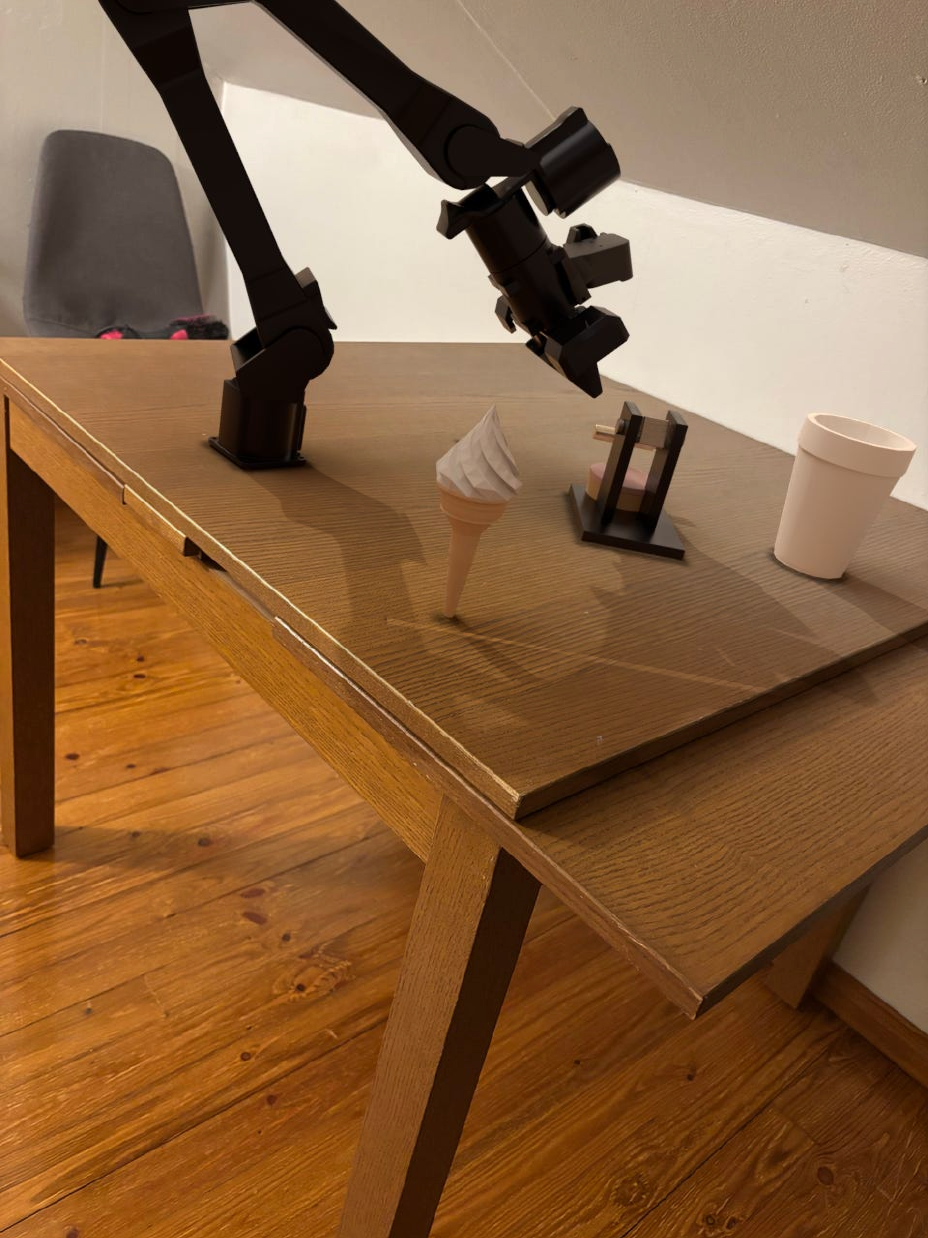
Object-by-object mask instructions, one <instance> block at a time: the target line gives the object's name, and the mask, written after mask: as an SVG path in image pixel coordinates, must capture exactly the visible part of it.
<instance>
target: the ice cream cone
mask: <svg viewBox="0 0 928 1238" xmlns="http://www.w3.org/2000/svg"><path fill="white" fill-rule="evenodd" d="M496 406H497V405H496V403H494V404H493V405H492V406H491V408H490V409H489V410H488V411H487V413H486V414H485V415H484V416H483V417H482V418H481V420H480V421H478V423H477V424H476V425H475V426H474V427H473V428H472V429H471V430H470V431H469V432H468V433H466V434H465V435H464V436H462V438H461V439H460V440H459V441H458V442H457V443H456V444H454V445H453V446H452V447H451V448H450V449H449V450H448V451H447V452H446V453H445V454H443V456H441V458H439V459H438V460H436V461H435V467H436V468H435V469H436V470H435V471H436V478H435V483H436V484H437V486H438V487H439V489H438V492H439V497H440V498H439V499H440V504H439V508H440V510H441V511H442V512H443V513H444V514H445V516H446V518H447V520H448V522H449V524H450V526H451V531H450V532H451V533H450V538H449V550H448V556H447V557H448V558H447V571H446V583H445V595H444V605H443V615H444V616H445V618H448V619H451V618H453V617H454V616H455V614H456V612H457V608H458V605H459V602H460V599H461V596H462V593H463V591H464V589H465V585H466V582H467V578H468V576H469V573H470V570H471V568H472V565H473V563H474V560H475V556H476V553H477V550H478V547H479V543H480V540H481V537H482V534H483V533H484V532H485V531H487V530H488V528H490V527H491V526H493V525H494V524H497V523H499V522H501V521H502V516H503V515H504V514H505V512H506V509H507V508H508V507H509V505H510V503H511V502H512V501H514V500H516V498H517V497H518V495H519V493H520V492H521V489H522V487H523V483H522V482H521V481H520V480H519V479H518V478H517V477H519V476H520V471H519V469H518V467H517V464H516V461H515V459H514V456H513V454H512V452H511V451H510V449H509V445H508V442H507V439H506V436H505V434H504V431H503V429H502V424H501V421H500V418H499V414H498V411H497V407H496Z"/></svg>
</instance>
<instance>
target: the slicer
mask: <svg viewBox="0 0 928 1238" xmlns="http://www.w3.org/2000/svg"><path fill="white" fill-rule="evenodd" d="M643 416H644V415H643V414H642V412H641V411H640V409H639V407H638V405H637V404H636V402H634V401H629V400H624V402H623V404H622V409H621V412H620V415H619V417H618V418H617V420H616V423H615V426H614V428H615V436H614V440H613V443H611V446H610V451H609V455H608V456H607V457H608V458H607V461H606V463H607V464H606V468H605V471H604V475H603V478H602V482H601V485H600V489H599V492H598V496H597V499H596V500H595V499H593V498H592V497H590V496H589V495H588V494H587V492H586V486H587V485H581V484H577V483H576V484H575V483H570V486H569V490H568V496H569V499H570V503H571V507H572V510H573V515H574V518H575V523H576V527H577V529H578V535H579V538H580V541H581V542H586V543H592V544H596V545H600V546H601V545H602V546H607V547H612V548H617V549H622V550H627V551H632V552H637V553H641V554H648V555H652V556H657V557H662V558H666V559H667V558H668V559H673V560H677V561H678V560H679V561H683V559H684V556H685V553H686V549H685V547H684V544H683V543H682V541H681V538H680V537H679V534H678V533H677V531H676V528H675V526H674V525H673V523H672V520H671V518H670V517H669V514H668V513H667V510H666V508H665V506H664V504H665V502H666V499H667V496H668V492H669V489H670V486H671V484H672V483H671V482H672V480H673V476H674V473H675V471H676V467H677V464H678V461H679V457H680V454H681V451H682V448H683V447H684V445H685V442H686V439H687V438H686V437H687V433H688V429H689V425H688V423H687V422H686V420H685V419H684V417H683V416H682V414H681V413H680V412H679V411H675V410H672V409H668V410H667V413H666V416H665V419H664V420H668V421H669V425H668V429H667V434H666V438H665V443H664V447H663V448H661V449H655V452H654V455H653V458H652V462H651V465H650V468H649V471H648V478H647V481H646V484H645V493H644V496H643V498H642V501H641V505H640V508H639V511H627V510H622V509H618V508H616V506H617V503H618V500H619V496H620V493H621V490H622V486H623V483H624V479H625V476H626V473H627V469H628V467H630V463H631V459H632V456H633V453H634V449H635V448H634V446H635V442H636V439H637V436H638V432H639V429H640V426H641V422H642V419H643Z"/></svg>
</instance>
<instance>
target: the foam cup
mask: <svg viewBox="0 0 928 1238" xmlns="http://www.w3.org/2000/svg"><path fill="white" fill-rule="evenodd" d="M798 434H799V435H798V437H797V440H796V442H797V443H798V445H797V449H796V454H795V458H794V462H793V466H792V470H791V474H790V479H789V484H788V488H787V491H786V497H785V501H784V505H783V511H782V513H781V518H780V522H779V526H778V530H777V534H776V535H777V536H776V538H775V544H774V547H773V549H774V550H773V554H774V556H775V557H776V559H777V560H778V561H779V562H781V563H782V564H783V565H785V566H786V567H788V568H791V569H793V570H795V571H796V572H799V573H803V574H805V575H809V576H812V577H815V578H820V579H821V578H822V579H828V580H830V579H841V578H842V576H843V574H844V572H845V571H846V570H847V568H848V566H849V565H850V563H851V561H852V559H854V556H855V554H856V553H857V551H858V550H859V548H860V546H861V545H862V543H863V541H864V540H865V537H866V536H867V535H868V533H869V531H870V529H871V528H872V526H873V524H875V521H876V519H877V517H878V516H879V514H880V513H881V511H882V509H883V507H884V505H886V502H887V501H888V500H889V498H890V496H891V494H892V493H893V491H894V489H895V488H896V486H897V484H898V482H899V481H900V479H901V478H902V477H903V476H904V475H905V474H906V473H907V471H908V469H909V467H910V464H911V462H912V459H913V457H914V455H915V453H916V451H917V448H918V446H917V445H916V444H915V443H914V442H913V441H912V440H911V439H909V438H907V437H905V436H903V435H901V434H899V433H897V432H895V431H893V430H890V429H887V428H885V427H881V426H880V425H876V424H874V423H871V422H867V421H864V420H861V419H856V418H853V417H850V416H844V415H840V414H834V413H829V412H811V413H809V414H807V415H805V418H804V421H803V424H802V426H801V429H800V431H799V433H798Z"/></svg>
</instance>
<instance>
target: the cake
mask: <svg viewBox="0 0 928 1238" xmlns="http://www.w3.org/2000/svg"><path fill="white" fill-rule="evenodd" d="M606 464H607V462H598V463H597V462H596V463H593V464H592V465H590V469H589V472H588V475H589V476H588V479H587V483H586V485H585V486H586V492H587V494H588V495H589V496H590V497H592V498H593V499H595V500H596V499H597V496H598V492H599V489H600V485H601V482H602V478H603V475H604V471H605V468H606ZM648 475H649V473H646V472H644V471H641V470H639V469H637V468H634V467H630V466H628V469H627V473H626V476H625V479H624V483H623V486H622V490H621V493H620V496H619V500H618V503H617V506H616V508H618V509H622V510H627V511H639V508H640V505H641V501H642V498H643V496H644V493H645V484H646V481H647V478H648Z"/></svg>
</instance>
